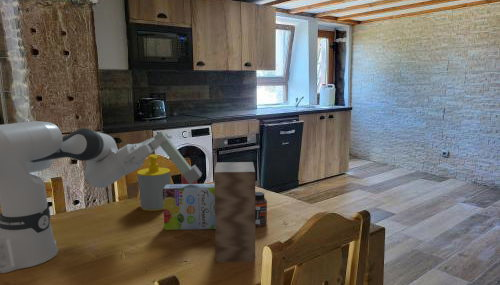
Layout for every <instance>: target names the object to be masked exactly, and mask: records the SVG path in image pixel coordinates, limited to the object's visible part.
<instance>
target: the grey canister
mask: <svg viewBox="0 0 500 285" xmlns="http://www.w3.org/2000/svg"><path fill="white" fill-rule="evenodd" d="M147 157H148V158H150V159H149V160H150V163H148V168H147V167H146V168H143V169H139V170H138V171H137V172H136V173H137V182H138V190H139V191H138V192H139V200H140V208H141V210H144V211H152V212H155V211H161V210H164V208H163V188H164V186H165V185H168V184H171V169H170V168H167V167H160V166H159V165H160V164H159V163H158V162H157V159H158V157H159V155H158V154H150V155H148V156H147Z"/></svg>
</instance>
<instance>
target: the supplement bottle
mask: <svg viewBox="0 0 500 285" xmlns="http://www.w3.org/2000/svg"><path fill="white" fill-rule="evenodd" d="M267 218H268V201H267V199H266V198H265V193H264V192H262V191H255V227H256V228H257V227H264V226H266V225H267V223H268V222H267V221H268V219H267Z"/></svg>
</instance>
